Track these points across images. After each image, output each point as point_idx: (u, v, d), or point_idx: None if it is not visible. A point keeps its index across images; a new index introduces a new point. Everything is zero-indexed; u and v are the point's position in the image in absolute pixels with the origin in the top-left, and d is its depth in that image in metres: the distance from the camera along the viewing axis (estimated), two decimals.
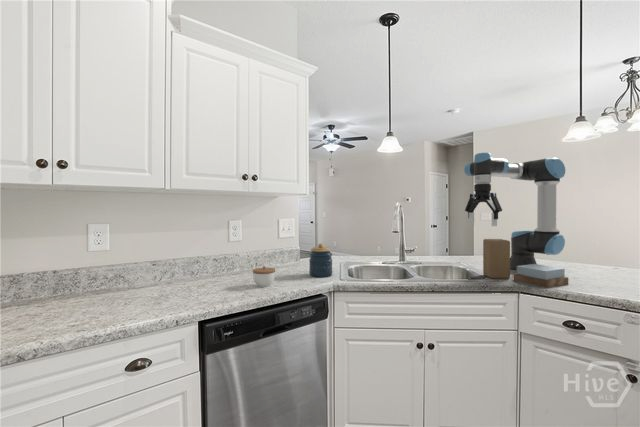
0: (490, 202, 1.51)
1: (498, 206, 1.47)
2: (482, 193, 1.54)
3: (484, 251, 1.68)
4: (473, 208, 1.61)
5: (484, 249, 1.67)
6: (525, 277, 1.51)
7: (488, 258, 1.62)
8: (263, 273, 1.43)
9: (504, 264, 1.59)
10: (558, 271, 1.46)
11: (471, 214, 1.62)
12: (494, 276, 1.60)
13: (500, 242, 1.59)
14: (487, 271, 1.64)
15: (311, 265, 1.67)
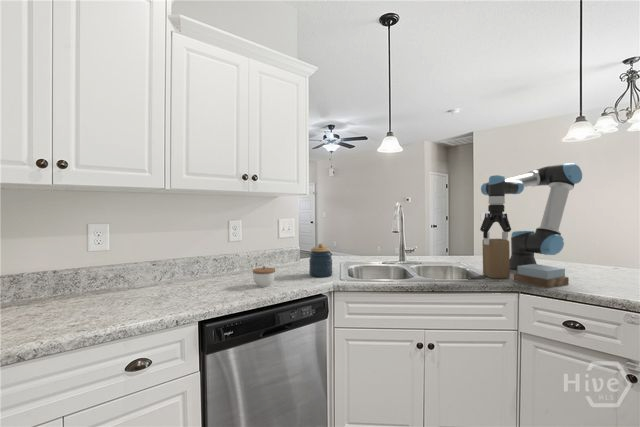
0: (489, 222, 1.62)
1: (482, 226, 1.61)
2: None
3: (483, 251, 1.68)
4: (503, 227, 1.66)
5: (483, 249, 1.67)
6: (525, 277, 1.51)
7: (488, 258, 1.62)
8: (263, 273, 1.43)
9: (504, 263, 1.59)
10: (559, 271, 1.46)
11: (503, 233, 1.67)
12: (494, 276, 1.60)
13: (499, 242, 1.59)
14: (487, 271, 1.64)
15: (311, 265, 1.67)
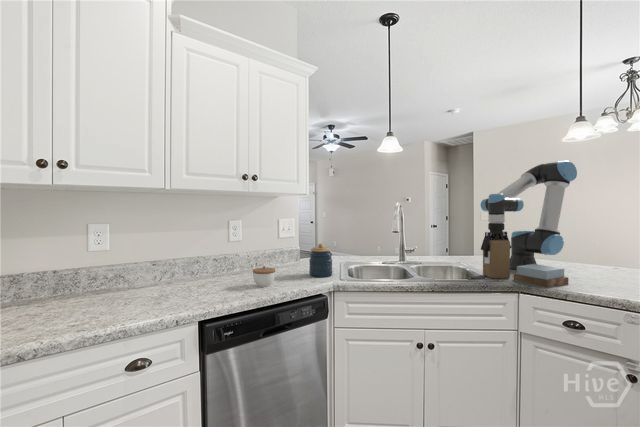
0: None
1: (483, 245, 1.61)
2: None
3: (483, 251, 1.68)
4: None
5: None
6: (525, 277, 1.51)
7: None
8: (263, 273, 1.43)
9: (504, 264, 1.59)
10: (558, 271, 1.46)
11: None
12: (494, 276, 1.60)
13: (500, 242, 1.59)
14: (487, 271, 1.64)
15: (311, 265, 1.67)
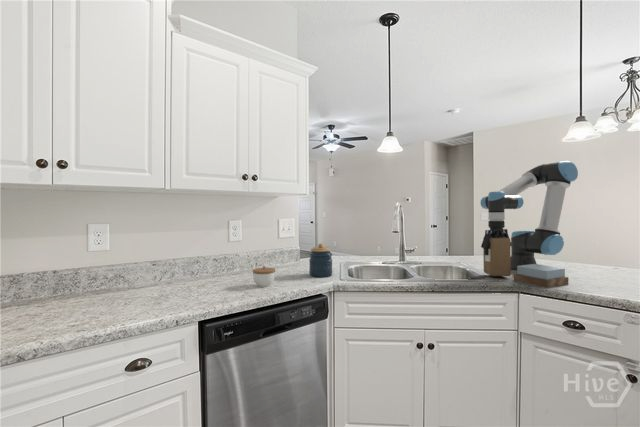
0: None
1: (483, 243, 1.61)
2: None
3: None
4: None
5: None
6: (525, 277, 1.51)
7: None
8: (263, 273, 1.43)
9: (505, 261, 1.59)
10: (559, 271, 1.46)
11: None
12: (495, 274, 1.60)
13: (500, 240, 1.59)
14: (488, 268, 1.64)
15: (311, 265, 1.67)
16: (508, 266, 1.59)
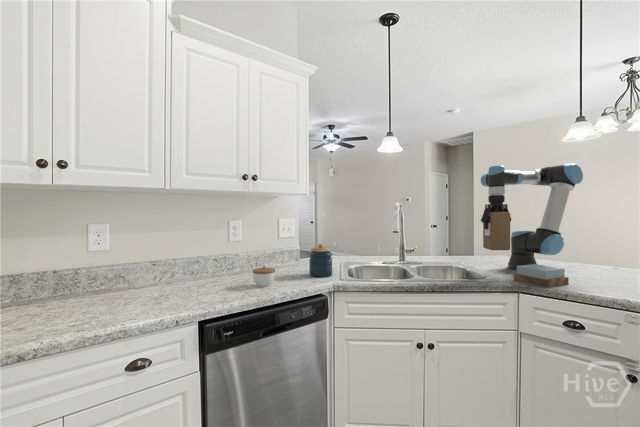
0: None
1: (483, 217, 1.61)
2: None
3: None
4: None
5: None
6: (525, 277, 1.51)
7: None
8: (263, 273, 1.43)
9: (504, 235, 1.59)
10: (558, 271, 1.46)
11: None
12: (494, 248, 1.60)
13: (500, 214, 1.59)
14: (487, 243, 1.64)
15: (311, 265, 1.67)
16: (508, 240, 1.59)
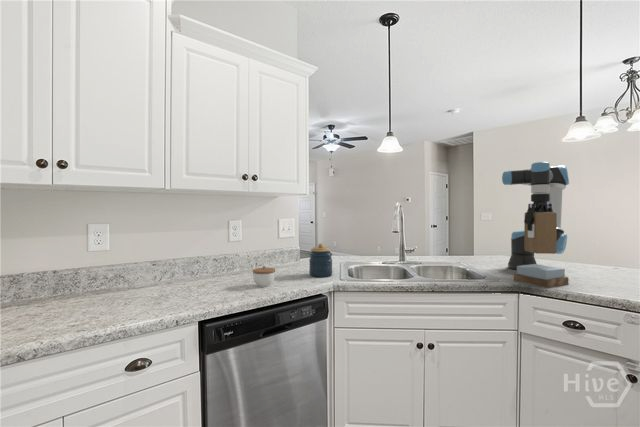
0: None
1: (527, 217, 1.49)
2: None
3: (525, 225, 1.55)
4: None
5: None
6: (525, 277, 1.51)
7: None
8: (263, 273, 1.43)
9: (550, 237, 1.47)
10: (558, 271, 1.46)
11: None
12: (539, 251, 1.47)
13: (546, 214, 1.47)
14: (530, 246, 1.51)
15: (311, 265, 1.67)
16: (554, 242, 1.47)
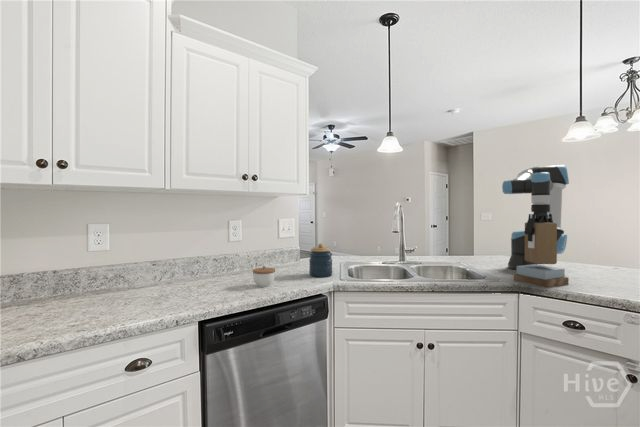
0: (533, 223, 1.50)
1: (527, 228, 1.49)
2: None
3: (526, 235, 1.55)
4: None
5: None
6: (525, 277, 1.51)
7: None
8: (263, 273, 1.43)
9: (551, 248, 1.47)
10: (558, 271, 1.46)
11: None
12: (539, 261, 1.47)
13: (546, 224, 1.47)
14: (531, 256, 1.51)
15: (311, 265, 1.67)
16: (554, 253, 1.47)
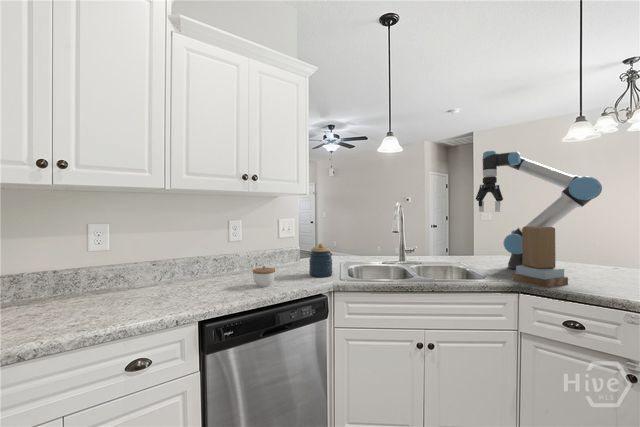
0: (483, 192, 1.85)
1: (477, 195, 1.84)
2: None
3: (524, 239, 1.54)
4: (496, 197, 1.89)
5: (525, 237, 1.54)
6: (525, 277, 1.51)
7: (533, 247, 1.49)
8: (263, 273, 1.43)
9: (550, 252, 1.47)
10: (557, 271, 1.46)
11: (496, 202, 1.90)
12: (541, 266, 1.47)
13: (546, 229, 1.47)
14: (531, 261, 1.50)
15: (311, 265, 1.67)
16: (553, 257, 1.47)
